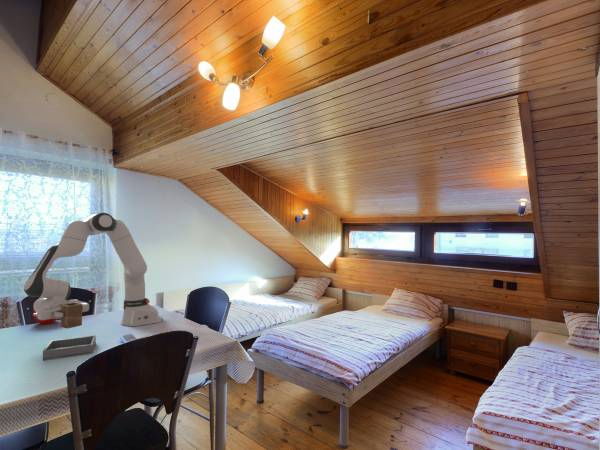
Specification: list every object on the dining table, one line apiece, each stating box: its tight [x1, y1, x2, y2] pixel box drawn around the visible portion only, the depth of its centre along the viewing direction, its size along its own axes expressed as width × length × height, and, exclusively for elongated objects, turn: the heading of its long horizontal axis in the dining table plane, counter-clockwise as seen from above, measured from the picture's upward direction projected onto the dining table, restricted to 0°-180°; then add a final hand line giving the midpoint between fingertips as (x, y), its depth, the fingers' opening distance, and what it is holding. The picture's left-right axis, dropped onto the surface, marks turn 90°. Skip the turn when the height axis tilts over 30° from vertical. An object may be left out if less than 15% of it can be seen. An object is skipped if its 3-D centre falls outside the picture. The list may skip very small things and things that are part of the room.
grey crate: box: [42, 334, 97, 361], centre depth 147 cm, size 18×14×4 cm
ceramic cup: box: [32, 306, 57, 325], centre depth 190 cm, size 13×17×10 cm
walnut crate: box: [60, 302, 83, 329], centre depth 147 cm, size 6×6×10 cm
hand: (72, 313), depth 147 cm, fingers closed on walnut crate, 6 cm apart
